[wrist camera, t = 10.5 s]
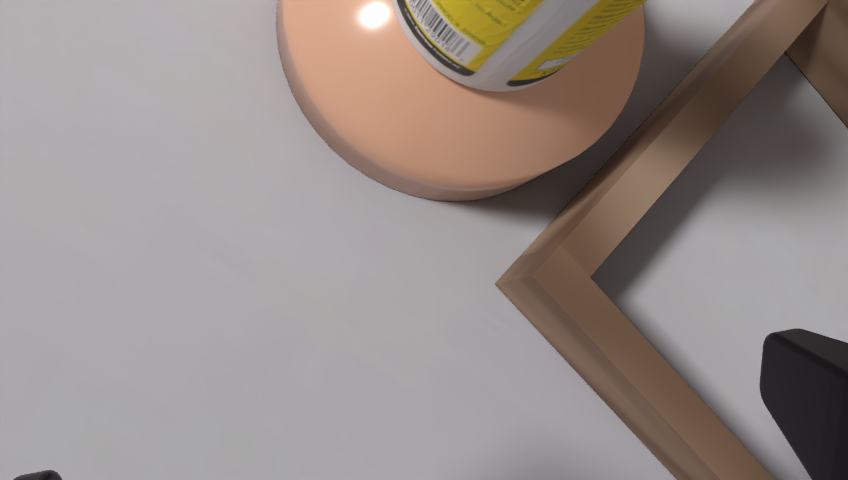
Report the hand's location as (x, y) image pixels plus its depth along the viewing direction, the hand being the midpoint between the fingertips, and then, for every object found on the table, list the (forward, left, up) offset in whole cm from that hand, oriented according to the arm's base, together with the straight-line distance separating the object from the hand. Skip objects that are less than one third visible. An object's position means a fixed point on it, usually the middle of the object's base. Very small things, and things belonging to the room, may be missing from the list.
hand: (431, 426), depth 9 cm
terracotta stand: (+9, -6, -10) cm, 15 cm away
